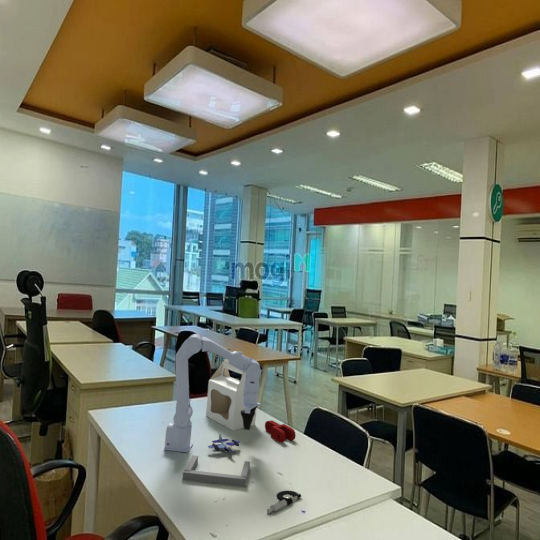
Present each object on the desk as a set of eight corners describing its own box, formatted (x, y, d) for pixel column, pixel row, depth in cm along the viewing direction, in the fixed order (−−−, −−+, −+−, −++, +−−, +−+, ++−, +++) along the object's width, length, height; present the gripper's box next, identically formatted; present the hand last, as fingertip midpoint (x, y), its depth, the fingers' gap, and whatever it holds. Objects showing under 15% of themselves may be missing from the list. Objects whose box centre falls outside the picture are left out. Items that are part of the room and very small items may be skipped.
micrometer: (286, 490, 132) (287, 482, 132) (303, 499, 127) (303, 491, 127) (253, 505, 121) (254, 497, 121) (270, 517, 116) (271, 508, 116)
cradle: (182, 479, 132) (182, 472, 132) (192, 462, 145) (192, 455, 145) (245, 487, 131) (245, 479, 131) (249, 468, 144) (250, 461, 144)
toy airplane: (237, 463, 148) (238, 453, 148) (202, 456, 151) (203, 446, 151) (248, 449, 160) (249, 440, 160) (216, 443, 164) (216, 434, 164)
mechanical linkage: (294, 441, 172) (295, 430, 172) (281, 444, 168) (283, 432, 168) (272, 429, 185) (273, 418, 185) (260, 431, 181) (261, 420, 181)
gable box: (205, 415, 194) (210, 358, 195) (227, 411, 203) (231, 356, 204) (233, 431, 178) (238, 367, 179) (255, 425, 187) (260, 365, 188)
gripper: (259, 397, 152) (255, 433, 151) (262, 387, 166) (259, 420, 166) (240, 395, 152) (237, 431, 152) (245, 385, 167) (242, 418, 166)
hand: (247, 425), depth 159 cm, fingers open, 7 cm apart
